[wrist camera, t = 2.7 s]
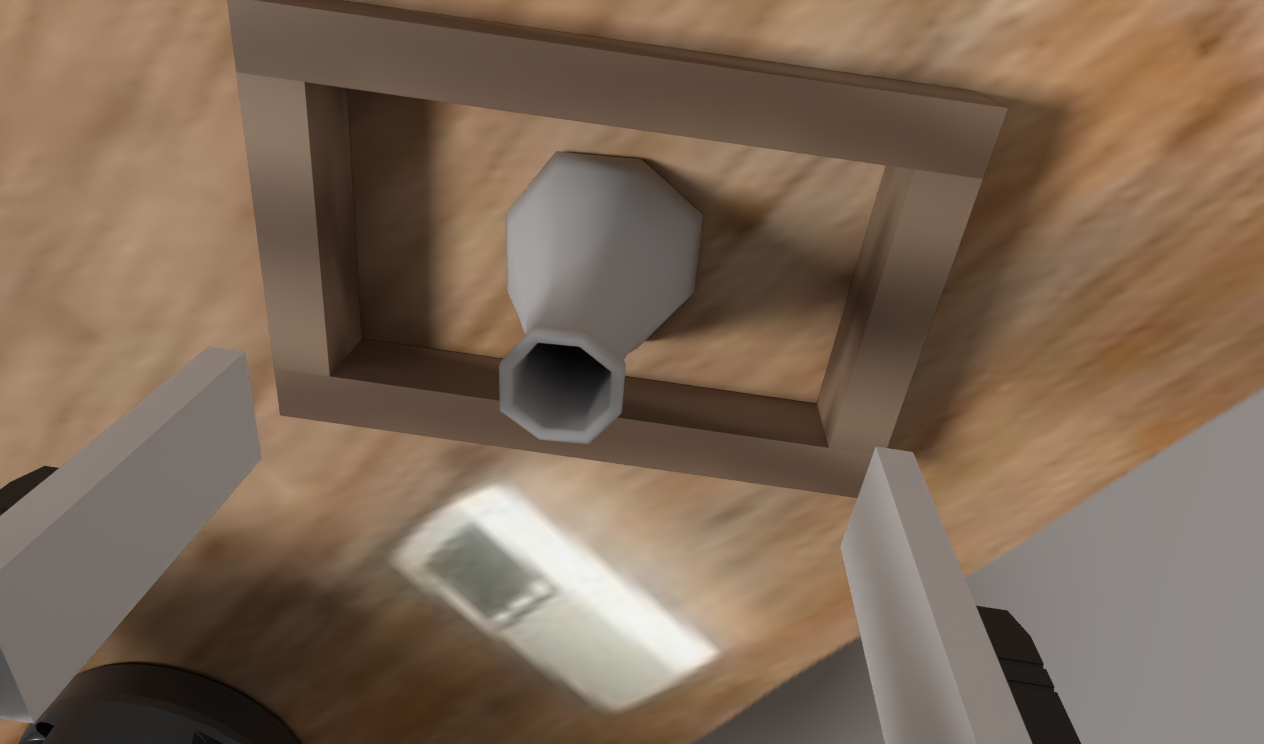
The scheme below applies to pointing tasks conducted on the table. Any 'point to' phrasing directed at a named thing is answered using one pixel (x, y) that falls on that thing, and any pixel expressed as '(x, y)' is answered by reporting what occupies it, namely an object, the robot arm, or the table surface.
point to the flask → (590, 287)
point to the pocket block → (615, 96)
